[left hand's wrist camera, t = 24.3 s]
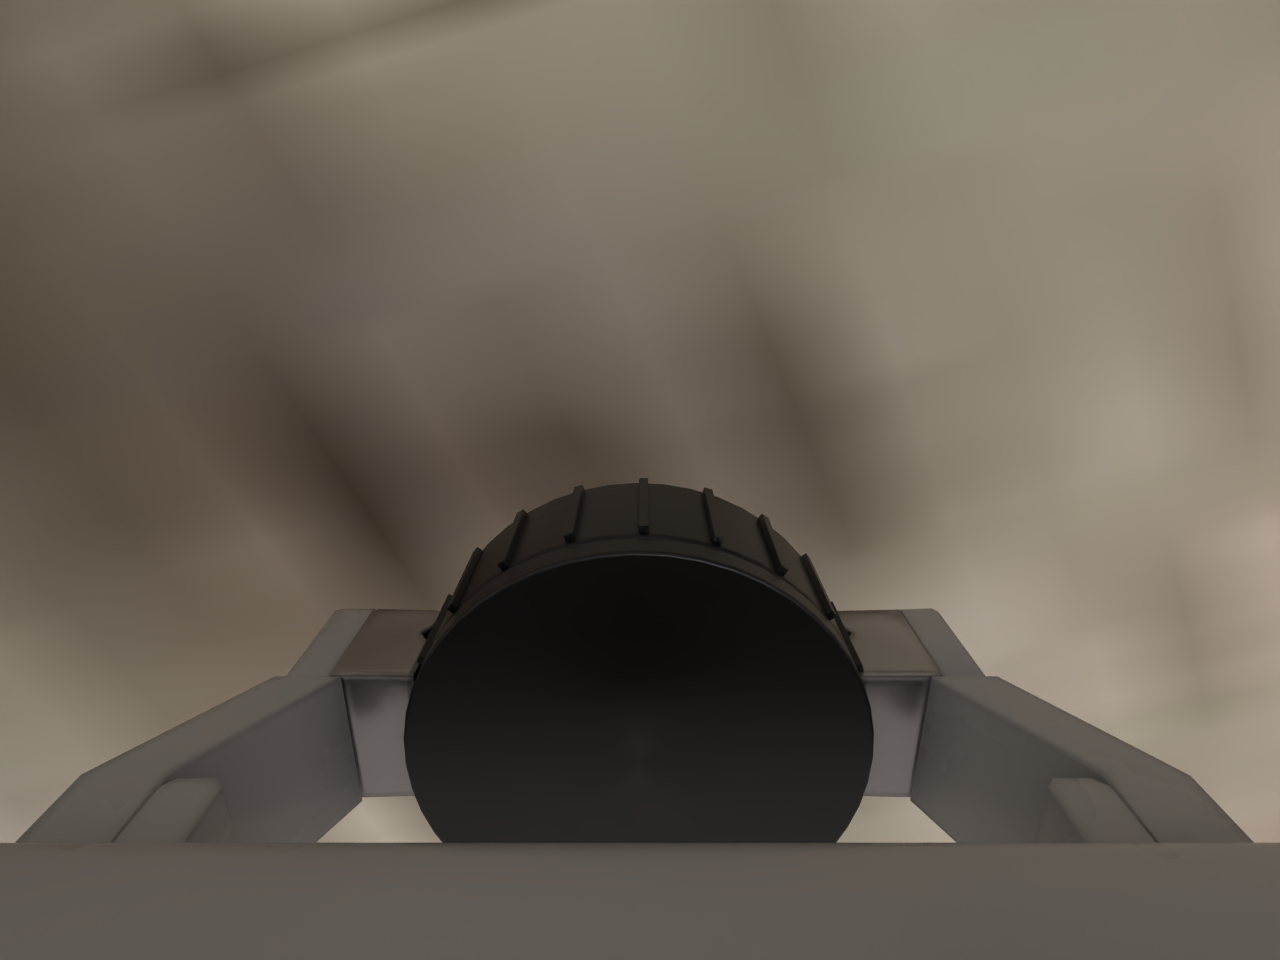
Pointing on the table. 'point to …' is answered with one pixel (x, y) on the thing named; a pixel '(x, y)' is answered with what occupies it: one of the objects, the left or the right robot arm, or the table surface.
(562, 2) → the table surface
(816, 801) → the lid
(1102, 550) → the table surface
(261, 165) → the table surface
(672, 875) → the left robot arm
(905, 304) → the table surface
